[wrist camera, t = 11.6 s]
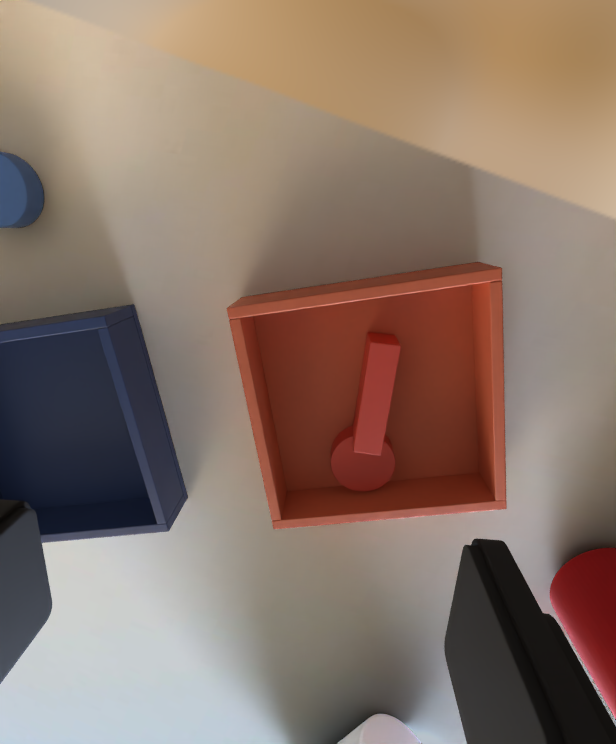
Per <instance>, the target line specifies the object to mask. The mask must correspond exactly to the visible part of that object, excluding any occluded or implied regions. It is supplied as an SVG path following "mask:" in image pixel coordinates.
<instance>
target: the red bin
mask: <svg viewBox="0 0 616 744" xmlns="http://www.w3.org/2000/svg"><path fill="white" fill-rule="evenodd" d="M501 280H502V268H501V267H497V266H492V265H488V264H484V263H481V262H475V263H468V264H461V265H454V266H448V267H441V268H434V269H428V270H421V271H414V272H407V273H401V274H394V275H387V276H380V277H374V278H367V279H360V280H354V281H347V282H340V283H333V284H327V285H320V286H313V287H306V288H300V289H293V290H286V291H280V292H273V293H266V294H259V295H253V296H246V297H241V298H240V299H239V300H237V301H236V302H235V303H233V304H232V305H230V306H229V307H228V308H227V312H228V317H229V319H230V320H229V322H230V326H231V331H232V336H233V341H234V345H235V350H236V355H237V359H238V364H239V369H240V373H241V378H242V383H243V388H244V392H245V397H246V402H247V406H248V411H249V416H250V421H251V425H252V430H253V435H254V439H255V444H256V449H257V453H258V458H259V463H260V468H261V472H262V477H263V482H264V486H265V491H266V496H267V500H268V505H269V510H270V515H271V519H272V524H273V529H283V528H295V527H306V526H318V525H329V524H340V523H352V522H363V521H375V520H386V519H398V518H409V517H420V516H432V515H443V514H455V513H466V512H477V511H489V510H500V509H506V461H505V406H504V350H503V295H502V281H501ZM367 332H375V333H384V334H392V335H395V336H396V338H397V339H398V341H399V343H400V345H401V350H400V355H399V361H398V366H397V372H396V377H395V383H394V388H393V394H392V399H391V405H390V410H389V416H388V421H387V427H386V432H385V434H386V435H387V437H388V438H389V440H390V442H391V444H392V447H393V451H394V455H395V462H396V464H395V470H394V473H393V475H392V476H391V478H390V479H389V481H388V482H387V483H386V484H384V485H383V486H381V487H379V488H377V489H375V490H371V491H363V492H362V491H355V490H351V489H349V488H347V487H345V486H343V485H342V484H341V483H340V482H339V481H338V480H337V479H336V478H335V476H334V475H333V472H332V470H331V447H332V444H333V441H334V439H335V438H336V437H337V435H338V434H339V433H340V432H342V431H343V430H344V429H346V428H348V427H351V426H353V421H354V415H355V408H356V402H357V395H358V389H359V382H360V376H361V369H362V363H363V356H364V350H365V343H366V337H367Z"/></svg>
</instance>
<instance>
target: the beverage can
mask: <svg viewBox="0 0 616 744" xmlns="http://www.w3.org/2000/svg"><path fill="white" fill-rule="evenodd" d="M550 600H551V604H552V606H553V608H554V610H555V612H556V614H557V615H558V617H559V619H560V621H561V623H562V624H563V626H564V628H565V630H566V632H567V634H568V635H569V637H570V639H571V641H572V643H573V644H574V646H575V648H576V650H577V652H578V653H579V655H580V657H581V659H582V660H583V662H584V664H585V666H586V668H587V669H588V671H589V673H590V675H591V676H592V678H593V680H594V682H595V684H596V685H597V687H598V689H599V691H600V692H601V694H602V696H603V698H604V699H605V701H606V703H607V705H608V706H609V708H610V710H611V712H612V713H613V715H614V717H615V719H616V548H600V549H594V550H590V551H587V552H584V553H582V554H580V555H578V556H576V557H574V558H572V559H571V560H569V561H568V562H567V563H566V564H564V565H563V566H562V567H561V568H560V570H559V571H558V572H557V573H556V575H555V577H554V579H553V581H552V584H551V587H550Z"/></svg>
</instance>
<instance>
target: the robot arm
mask: <svg viewBox="0 0 616 744" xmlns="http://www.w3.org/2000/svg"><path fill="white" fill-rule="evenodd" d="M51 609H52V598H51V593H50V587H49V582H48V576H47V570H46V565H45V559H44V554H43V548H42V542H41V537H40V531H39V526H38V520H37V515H36V512H35V510H34V509H31V507H30V505H29V504H28V503H27V502H25V501H17V500H4V499H0V684H1V682H2V681H3V680H4V678H5V677H6V676H7V674H8V673H9V671H10V670H11V669H12V667H13V666H14V665H15V663H16V662H17V661H18V659H19V658H20V657H21V655H22V654H23V652H24V651H25V650H26V648H27V647H28V646H29V644H30V643H31V642H32V640H33V639H34V638H35V636H36V635H37V633H38V632H39V631H40V629H41V628H42V627H43V625H44V624H45V623H46V621H47V619H48V618H49V615H50V613H51ZM445 657H446V662H447V666H448V670H449V674H450V677H451V681H452V685H453V689H454V693H455V697H456V701H457V705H458V709H459V713H460V717H461V721H462V725H463V729H464V733H465V737H466V741H467V744H616V726H615V725H614V723H613V721H612V719H611V718H610V716H609V714H608V712H607V710H606V709H605V707H604V705H603V703H602V701H601V700H600V698H599V696H598V694H597V692H596V691H595V689H594V687H593V685H592V683H591V682H590V680H589V678H588V676H587V674H586V673H585V671H584V669H583V667H582V665H581V664H580V662H579V660H578V658H577V656H576V655H575V653H574V651H573V649H572V647H571V646H570V644H569V642H568V640H567V638H566V637H565V635H564V633H563V631H562V630H561V628H560V626H559V624H558V623H557V622H556V620H555V619H554V618H553V617H552V616H551V615H549V614H544V613H542V611H541V609H540V607H539V605H538V603H537V601H536V600H535V598H534V596H533V594H532V592H531V590H530V588H529V586H528V585H527V583H526V581H525V579H524V577H523V575H522V573H521V571H520V570H519V568H518V566H517V564H516V562H515V560H514V558H513V556H512V554H511V553H510V551H509V549H508V547H507V545H506V544H505V542H503V541H499V540H487V539H474V540H473V542H472V544H471V545H465V546H464V547H463V551H462V556H461V561H460V566H459V571H458V576H457V581H456V586H455V591H454V596H453V601H452V606H451V611H450V616H449V621H448V626H447V631H446V636H445Z"/></svg>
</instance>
